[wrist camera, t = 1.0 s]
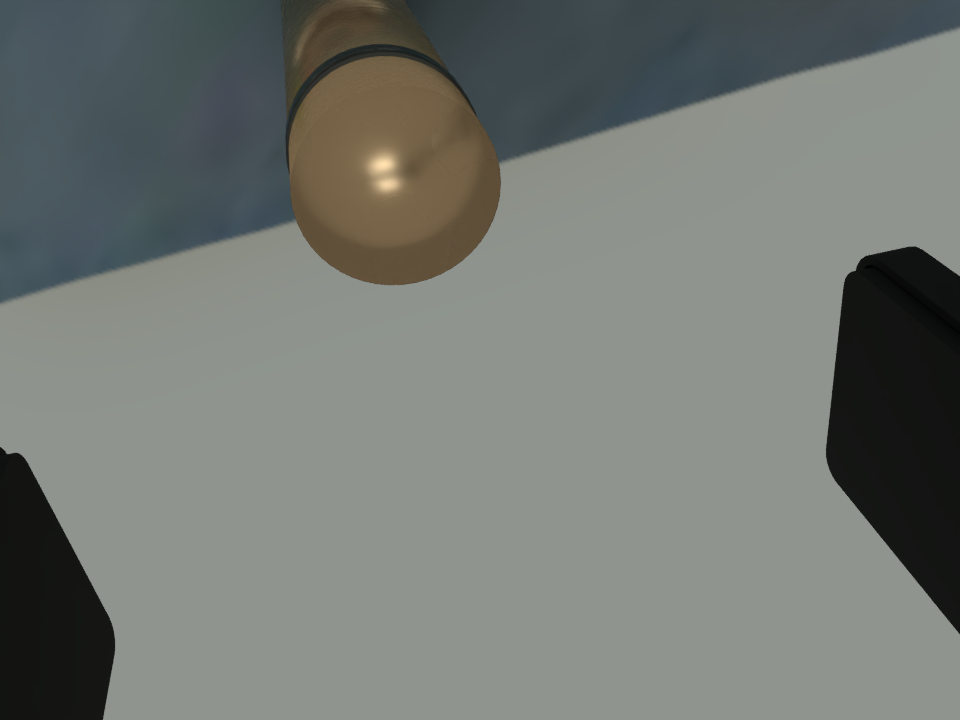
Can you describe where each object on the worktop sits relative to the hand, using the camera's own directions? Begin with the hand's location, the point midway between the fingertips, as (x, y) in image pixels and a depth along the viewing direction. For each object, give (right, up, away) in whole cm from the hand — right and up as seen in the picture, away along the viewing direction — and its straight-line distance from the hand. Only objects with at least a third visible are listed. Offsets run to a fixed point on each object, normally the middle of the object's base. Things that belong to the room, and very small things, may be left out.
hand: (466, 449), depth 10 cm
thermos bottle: (-5, +14, +22) cm, 26 cm away
